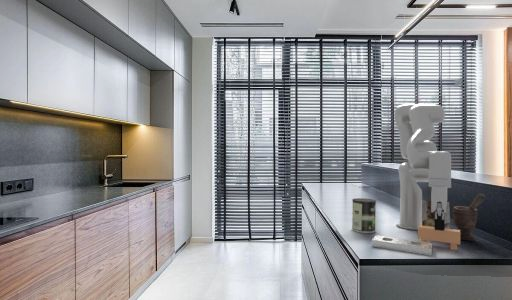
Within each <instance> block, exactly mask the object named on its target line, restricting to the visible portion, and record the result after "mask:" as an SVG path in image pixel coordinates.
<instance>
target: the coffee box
mask: <svg viewBox="0 0 512 300" xmlns="http://www.w3.org/2000/svg"><path fill="white" fill-rule="evenodd" d="M441 205H442V202H441ZM451 215H452V201H448V200H447V208H446V213H445V214H444V220H445V228H447V229H452V228H451V227H452V225H451V223H452V222H451V220H452V217H451ZM422 226H430V227H435V212H433V213H432V212H431V198H427V199H422Z"/></svg>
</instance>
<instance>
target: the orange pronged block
mask: <svg viewBox="0 0 512 300" xmlns="http://www.w3.org/2000/svg"><path fill="white" fill-rule="evenodd" d="M417 239H419V240H420V241H421V242H428V241H433V242H439V243H448V244H450V246H449V247H450V250H452V251H458V245H461V240H460V230H458V229H456V228H455V229H453V228H451V229H447V228H445V230H444V231H441V230H435V227H430V226H421V225H419V226H418V230H417Z"/></svg>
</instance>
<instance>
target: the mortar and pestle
mask: <svg viewBox="0 0 512 300" xmlns="http://www.w3.org/2000/svg"><path fill="white" fill-rule="evenodd" d="M485 199H486V195H484V194H483V193H478V194H477V196H476V197H474V199H473V201H472V202H471V204H470V205H469V206H463V205H461V206H460V205H457V206H456V205H455V206H453V210H452V212H453V213H452V215H453V217H452V218H453V219H452V220H453V222H454V226H455V227H456V228H457V230H460V241H469V242H471V241H472V242H474V241H475V240H476V239H475V236H474V235H473V234H472V230H473V229H475V227H476V224H477V221H478V209H477V208H478V206H479V205H481V204H482V203H483V202H484V201H485Z"/></svg>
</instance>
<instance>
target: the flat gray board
mask: <svg viewBox="0 0 512 300" xmlns="http://www.w3.org/2000/svg"><path fill="white" fill-rule="evenodd" d="M371 247H373V248H374V247H375V248H380V249H386V250H393V251H400V252H404V253H405V252H406V253H411V252H412V254H413V253H414V254H417V253H418V255H425V256H430V257H431V256H432V255H433V254H432V253H433V243H432V242H428V241H427V242H421V240H420V241H419V240H413V239H405V238H397V237H391V236H384V235H377V234H375V235H374V237H373V238H372V239H371Z"/></svg>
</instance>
